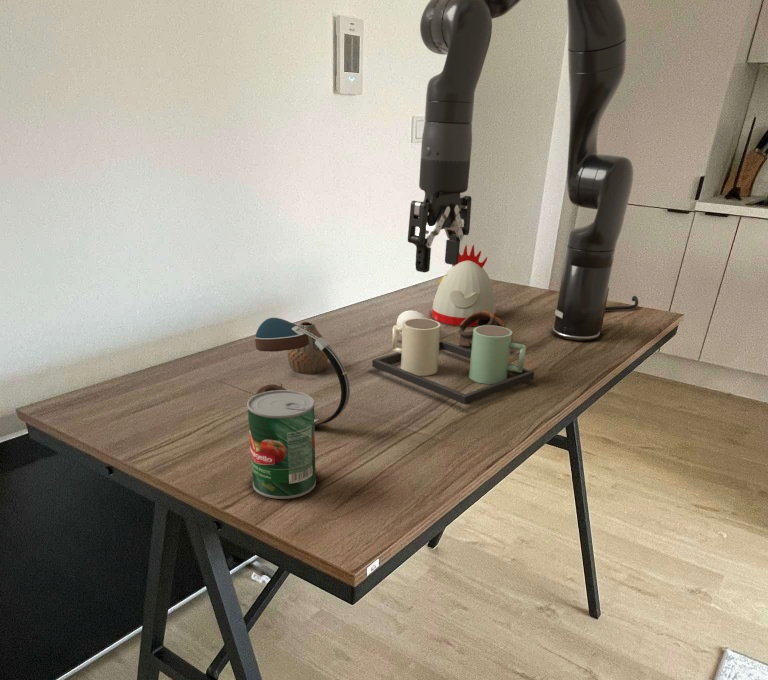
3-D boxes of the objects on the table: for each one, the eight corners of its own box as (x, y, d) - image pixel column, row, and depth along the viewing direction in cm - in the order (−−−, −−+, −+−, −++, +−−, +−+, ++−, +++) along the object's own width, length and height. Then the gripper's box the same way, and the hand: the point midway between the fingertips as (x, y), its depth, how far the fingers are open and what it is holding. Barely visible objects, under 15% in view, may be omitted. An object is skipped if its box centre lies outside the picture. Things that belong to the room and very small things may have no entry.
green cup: (463, 379, 119) (467, 332, 114) (476, 368, 124) (481, 322, 119) (514, 390, 115) (521, 342, 111) (526, 378, 120) (533, 331, 116)
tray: (440, 351, 134) (441, 340, 133) (532, 384, 121) (534, 371, 119) (371, 372, 124) (372, 359, 122) (464, 410, 110) (465, 396, 109)
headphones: (204, 406, 106) (333, 449, 100) (202, 306, 98) (342, 347, 91) (228, 393, 111) (353, 433, 104) (229, 297, 103) (364, 335, 96)
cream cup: (444, 369, 123) (448, 323, 119) (423, 378, 118) (426, 331, 114) (402, 357, 127) (404, 312, 123) (381, 366, 123) (382, 320, 119)
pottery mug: (515, 361, 132) (500, 325, 127) (468, 377, 135) (451, 344, 130) (512, 326, 140) (498, 291, 135) (468, 343, 144) (452, 310, 139)
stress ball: (429, 360, 139) (447, 330, 138) (403, 342, 134) (422, 311, 133) (407, 347, 145) (425, 318, 143) (382, 330, 139) (399, 300, 138)
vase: (335, 371, 123) (335, 321, 119) (316, 383, 118) (314, 332, 113) (301, 364, 126) (299, 315, 121) (280, 376, 120) (278, 325, 116)
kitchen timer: (434, 306, 161) (439, 236, 153) (495, 310, 160) (502, 240, 152) (429, 323, 149) (434, 249, 142) (494, 328, 148) (503, 253, 140)
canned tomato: (240, 491, 87) (233, 408, 81) (271, 464, 93) (267, 385, 87) (298, 504, 84) (295, 420, 79) (326, 476, 91) (325, 396, 85)
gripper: (440, 160, 100) (432, 278, 108) (490, 156, 109) (479, 265, 118) (397, 156, 103) (392, 270, 112) (450, 152, 113) (441, 258, 122)
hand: (437, 267), depth 115 cm, fingers open, 8 cm apart
